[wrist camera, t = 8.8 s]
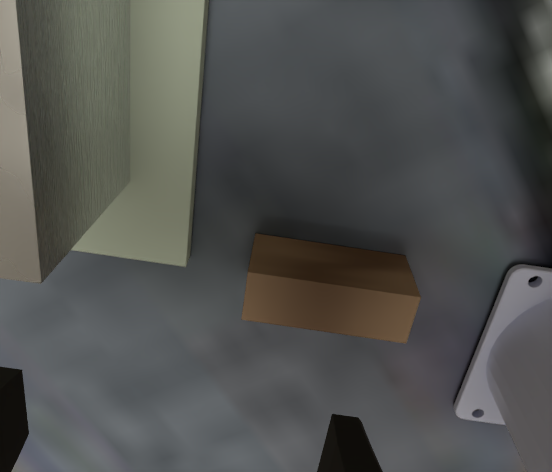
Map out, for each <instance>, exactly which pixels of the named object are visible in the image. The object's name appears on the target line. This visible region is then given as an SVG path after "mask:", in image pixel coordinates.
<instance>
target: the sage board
mask: <svg viewBox="0 0 552 472" xmlns="http://www.w3.org/2000/svg"><path fill="white" fill-rule="evenodd" d="M208 6H209V0H130V182H129V184H128V185H127V186H126V187H125V188H124V189H123V190H122V192H121V193H120V194H119V195H118V196H117V197H116V198H115V200H114V201H113V202H112V203H111V204H110V205H109V206H108V208H107V209H106V210H105V211H104V212H103V213H102V215H101V216H100V217H99V218H98V219H97V220H96V221H95V223H94V224H93V225H92V226H91V227H90V228H89V229H88V231H87V232H86V233H85V234H84V235H83V236H82V237H81V239H80V240H79V241H78V242H77V243H76V244H75V246H74V247H73V248H72V249H71V250H74V251H81V252H88V253H95V254H102V255H108V256H115V257H122V258H129V259H136V260H143V261H149V262H156V263H163V264H170V265H177V266H183V267H186V265H187V263H188V261H189V258H190V250H191V236H192V223H193V209H194V196H195V182H196V169H197V155H198V141H199V128H200V114H201V101H202V87H203V74H204V60H205V47H206V33H207V20H208Z"/></svg>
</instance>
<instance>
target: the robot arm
mask: <svg viewBox="0 0 552 472" xmlns="http://www.w3.org/2000/svg"><path fill="white" fill-rule="evenodd" d="M534 276H538V278H537V279H536V280H535V281H533V282H528V281H529V279H530V278H532V277H534ZM476 409H480V410H478V411H474V410H476ZM454 410H455V413H456V415H457V416H458V417H459V418H462V419H466V420H473V421H480V422H487V423H494V424H501V425H506V427H507V429H508V431H509V433H510V435H511V438H512V440H513V442H514V444H515V446H516V449H517V451H518V453H519V455H520V457H521V460H522V462H523V464H524V466H525V468H526V471H527V472H552V269H551V268H545V267H538V266H531V265H524V264H520V265H516V266H513V267H512V268H511V269H509V271H508V272H507V274H506V277H505V279H504V282H503V284H502V287H501V289H500V291H499V294H498V296H497V299H496V301H495V304H494V306H493V309H492V311H491V314H490V316H489V319H488V321H487V324H486V326H485V329H484V331H483V334H482V336H481V339H480V341H479V344H478V346H477V349H476V351H475V354H474V356H473V359H472V361H471V364H470V366H469V369H468V371H467V374H466V376H465V379H464V381H463V384H462V386H461V389H460V391H459V394H458V396H457V399H456V401H455V404H454ZM28 434H29V430H28V421H27V412H26V402H25V393H24V384H23V375H22V370H19V369H12V368H5V367H0V472H11V471H12V469H13V467H14V465H15V463H16V461H17V459H18V457H19V454H20V452H21V450H22V448H23V446H24V443H25V441H26V439H27V437H28ZM317 472H383V471H382V469H381V467H380V465H379V463H378V460H377V458H376V456H375V454H374V451H373V449H372V447H371V444H370V442H369V440H368V437H367V435H366V432H365V430H364V427H363V424H362V422H361V421H360V419H359V418H357V417H350V416H343V415H336V414H332V417H331V420H330V424H329V428H328V432H327V436H326V440H325V444H324V447H323V451H322V455H321V459H320V463H319V467H318V471H317Z"/></svg>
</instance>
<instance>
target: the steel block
mask: <svg viewBox="0 0 552 472" xmlns="http://www.w3.org/2000/svg"><path fill="white" fill-rule="evenodd" d="M129 182H130V0H0V278H4V279H11V280H18V281H26V282H33V283H40V284H41V283H42V282H43V281H44V280H45V279H46V278H47V277H48V275H49V274H50V273H51V272H52V271H53V270H54V268H55V267H56V266H57V265H58V264H59V263H60V262H61V260H62V259H63V258H64V257H65V256H66V255H67V254H68V252H69V251H70V250H71V249H72V248H73V247H74V246H75V244H76V243H77V242H78V241H79V240H80V239H81V237H82V236H83V235H84V234H85V233H86V232H87V231H88V229H89V228H90V227H91V226H92V225H93V224H94V223H95V221H96V220H97V219H98V218H99V217H100V216H101V215H102V213H103V212H104V211H105V210H106V209H107V208H108V206H109V205H110V204H111V203H112V202H113V201H114V200H115V198H116V197H117V196H118V195H119V194H120V193H121V192H122V190H123V189H124V188H125V187H126V186H127V185H128V184H129Z"/></svg>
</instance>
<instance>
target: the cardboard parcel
mask: <svg viewBox="0 0 552 472" xmlns="http://www.w3.org/2000/svg"><path fill="white" fill-rule="evenodd" d="M420 299H421V296H420V294H419V291H418V288H417V286H416V283H415V280H414V277H413V275H412V272H411V269H410V267H409V264H408V261H407V259H406V256H405V255H398V254H391V253H385V252H378V251H371V250H364V249H358V248H351V247H344V246H337V245H331V244H324V243H317V242H310V241H304V240H297V239H290V238H284V237H277V236H270V235H263V234H257V233H255V238H254V243H253V248H252V253H251V259H250V264H249V269H248V275H247V282H246V290H245V297H244V305H243V312H242V319H241V320H248V321H255V322H262V323H269V324H276V325H282V326H289V327H296V328H303V329H310V330H317V331H324V332H331V333H338V334H345V335H351V336H358V337H365V338H372V339H379V340H386V341H393V342H400V343H406V342H407V339H408V336H409V333H410V330H411V327H412V324H413V320H414V317H415V314H416V311H417V308H418V305H419V302H420Z"/></svg>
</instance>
